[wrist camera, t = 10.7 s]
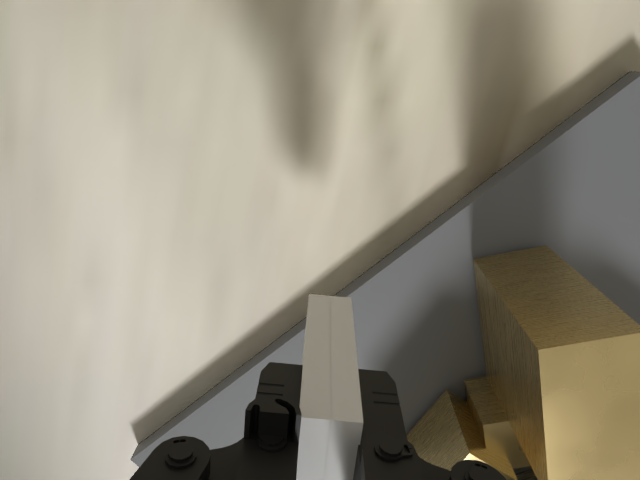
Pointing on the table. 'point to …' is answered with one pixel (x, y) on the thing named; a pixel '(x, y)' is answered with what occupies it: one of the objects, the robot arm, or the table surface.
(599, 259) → the cap plate
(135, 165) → the table surface
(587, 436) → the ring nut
